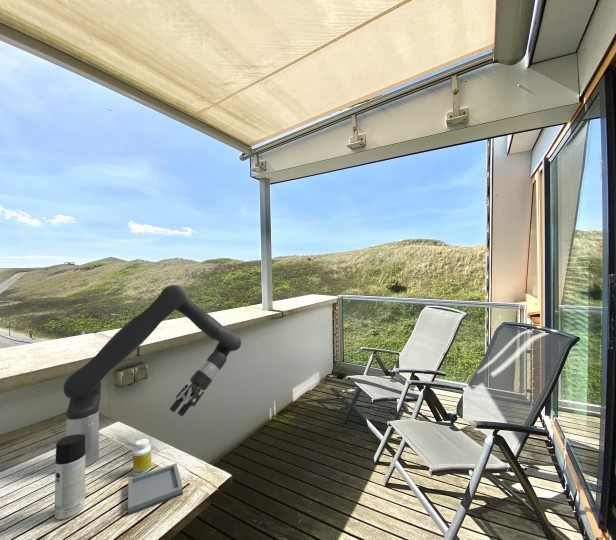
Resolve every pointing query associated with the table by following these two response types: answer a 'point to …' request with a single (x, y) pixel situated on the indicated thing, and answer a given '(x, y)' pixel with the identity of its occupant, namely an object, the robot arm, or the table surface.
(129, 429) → the table surface
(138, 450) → the supplement bottle
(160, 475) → the tray
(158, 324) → the robot arm
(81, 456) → the spray can
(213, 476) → the table surface
